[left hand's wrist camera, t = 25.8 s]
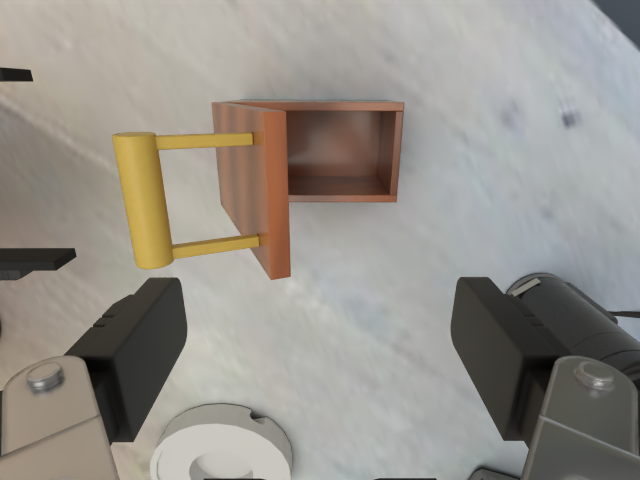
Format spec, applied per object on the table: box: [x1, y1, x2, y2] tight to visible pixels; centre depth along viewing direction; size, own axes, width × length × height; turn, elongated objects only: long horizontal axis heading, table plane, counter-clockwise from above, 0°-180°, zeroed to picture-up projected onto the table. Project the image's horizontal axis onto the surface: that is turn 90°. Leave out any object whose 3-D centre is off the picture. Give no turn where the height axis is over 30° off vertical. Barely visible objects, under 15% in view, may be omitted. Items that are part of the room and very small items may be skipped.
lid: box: [112, 102, 291, 280], centre depth 28 cm, size 18×10×9 cm
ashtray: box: [150, 404, 293, 480], centre depth 65 cm, size 23×23×4 cm
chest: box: [226, 100, 404, 202], centre depth 43 cm, size 18×10×10 cm, turn 90°
